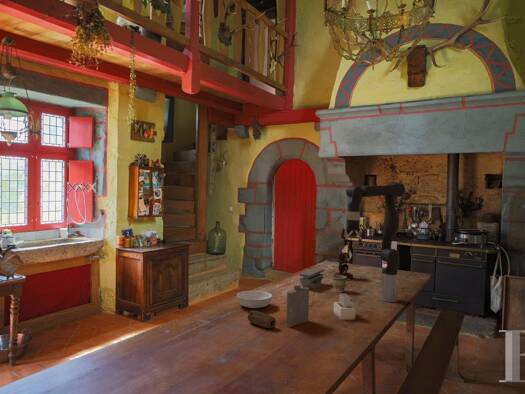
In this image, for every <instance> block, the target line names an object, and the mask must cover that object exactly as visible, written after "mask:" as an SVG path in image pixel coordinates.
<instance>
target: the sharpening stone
mask: <svg viewBox="0 0 525 394" xmlns="http://www.w3.org/2000/svg"><path fill="white" fill-rule="evenodd" d="M324 271H325V268H318V267H313V268H311V269H308V270H305V271H302V272H300V273H299V274H298V275H299V277H300V278H299V282H300V285H301V287H302V288H304V287H307V288H309V290H310V289H311V290H315V289H316V288H318V287H320V286H321V284H322V282H323V279H324V273H323V272H324Z"/></svg>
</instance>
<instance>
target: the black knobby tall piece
mask: <svg viewBox="0 0 525 394" xmlns="http://www.w3.org/2000/svg"><path fill="white" fill-rule="evenodd" d="M338 258H339V261H338V262H339V263H338V268H337V269H338V271H337V272H335V273H333V276H334V275H341V276H346V277H347V278H346V279H353V277H354V275H353V274H352V273H350V272H348V270H350V269H349V267H350V266H349V265H348V262H349V261H348V259H349V258H350V254H349V252H346V251H345V252H343V253H339V255H338Z"/></svg>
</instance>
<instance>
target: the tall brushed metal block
mask: <svg viewBox="0 0 525 394" xmlns="http://www.w3.org/2000/svg"><path fill="white" fill-rule="evenodd" d="M338 302H339V306H340V307H342V308H350V304H351V296H349V295H348V294H347V293H339V300H338Z"/></svg>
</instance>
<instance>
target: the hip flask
mask: <svg viewBox="0 0 525 394" xmlns="http://www.w3.org/2000/svg"><path fill="white" fill-rule="evenodd" d="M293 288H294V289H290V290H288V291H287V292H286V309H285V310H286V314H285V315H286V316H285V327H286V328H292V327H294V326H297V325H300V324H303V323H307V322H309V311H310V310H309V308H310V307H309V306H310V288H307V287H302V284H294V285H293Z"/></svg>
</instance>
